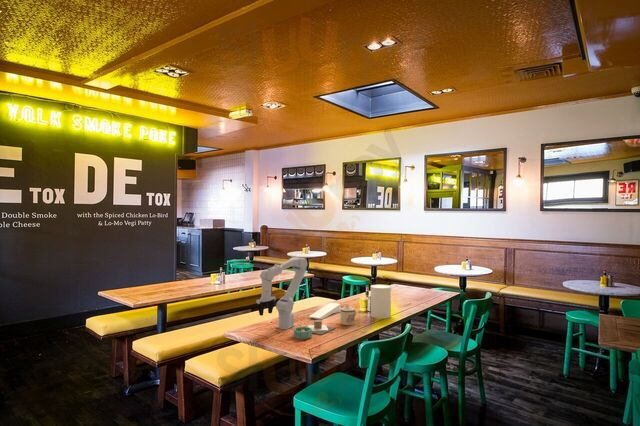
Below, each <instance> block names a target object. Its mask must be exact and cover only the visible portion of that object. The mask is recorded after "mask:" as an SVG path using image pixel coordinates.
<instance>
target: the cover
mask: <svg viewBox="0 0 640 426" xmlns="http://www.w3.org/2000/svg"><path fill="white" fill-rule="evenodd" d="M307 327H310V328H311V329H312V332H322V331H328V328H327V325H326V324H323V323H322V319H314V320H313V324H309V325H307Z"/></svg>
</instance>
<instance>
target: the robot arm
mask: <svg viewBox="0 0 640 426" xmlns="http://www.w3.org/2000/svg"><path fill="white" fill-rule="evenodd" d="M290 267H292V269H293V271H294V273H295V274H294V276H292V277H293V278H292V280H291V282H290V283H289V286H288V287H287V290H286V291H285V294H284V295H283V296H281V297H280V299H279V300H278V301H276V296H272V287H273V286H272V285H273V283H272V282H273V280H274V278H275V277H276V276H279V275H280V274H282V273H283V271H285V270H286V269H288V268H290ZM307 267H308V260H307V258H305V257H296V256H293V257H291V258H289V259H288V260H286V261H285V262H283V263H281V264H277V263H275V264H274V265H273V266H272V267H268V268H267V269H263V270H262V271H261V272H260V274H259V277H260V279H261V297H260V298H259V299H256V300H255V301H256V302H255V305H256V307H257V310H258V314H259V316H261V317H262V316H263V315H264V311H265V310H264V309H265V306H266V303H267V311H268V314H272V313H273V310H274V307H275V308H276V310H277V312H278V325H277V326H275V328H277V329H281V330H287V329H290V328H293V327H295V326H296V325H295V314H294V313H293V309H294V304H295V301H294V300H293V299H294V297H295V295H296V293H297V292H298V289H299V287H300V285H301V283H302V280H303V278H305V277H304V276H305V273H306V269H307ZM275 304H276V305H275Z"/></svg>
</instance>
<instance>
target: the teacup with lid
mask: <svg viewBox="0 0 640 426" xmlns="http://www.w3.org/2000/svg"><path fill="white" fill-rule="evenodd" d="M356 315H357V312H356V310H355V308H354V307H352V306H350V304H346V305H344V307H341V309H340V324H341V325H345V326H352V325H355V318H356Z"/></svg>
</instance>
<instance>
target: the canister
mask: <svg viewBox="0 0 640 426" xmlns="http://www.w3.org/2000/svg"><path fill="white" fill-rule="evenodd" d="M391 286H392V285H389V284H380V283H379V284H371V285H370V317H372V318H374V319H380V320H381V319H389V318H391V317H392V308H391V307H392V299H391V298H392V293H391V291H392V287H391Z"/></svg>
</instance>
